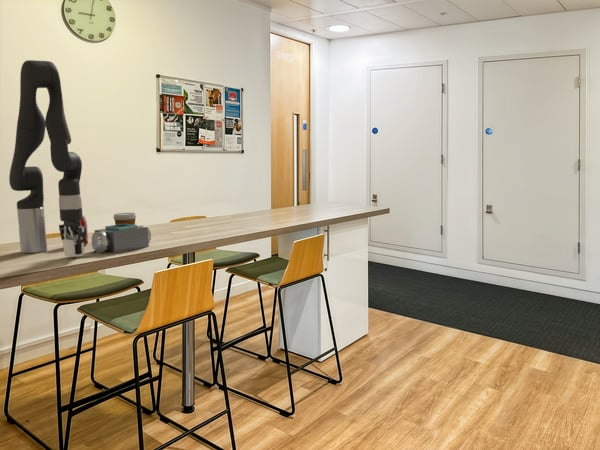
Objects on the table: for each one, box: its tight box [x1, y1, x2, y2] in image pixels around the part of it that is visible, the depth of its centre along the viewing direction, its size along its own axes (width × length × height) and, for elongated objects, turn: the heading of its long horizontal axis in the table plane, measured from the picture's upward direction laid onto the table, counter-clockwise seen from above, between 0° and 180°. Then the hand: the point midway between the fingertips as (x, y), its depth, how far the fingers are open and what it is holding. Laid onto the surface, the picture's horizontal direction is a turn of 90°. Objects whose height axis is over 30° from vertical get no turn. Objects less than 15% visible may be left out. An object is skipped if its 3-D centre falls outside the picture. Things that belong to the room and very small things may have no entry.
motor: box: [91, 224, 152, 254], centre depth 204 cm, size 12×22×9 cm, turn 145°
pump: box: [62, 235, 85, 258], centre depth 188 cm, size 5×5×8 cm
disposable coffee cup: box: [112, 212, 137, 225], centre depth 222 cm, size 10×10×12 cm
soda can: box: [80, 216, 89, 247], centre depth 212 cm, size 7×7×12 cm
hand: (74, 253), depth 188 cm, fingers closed on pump, 5 cm apart
